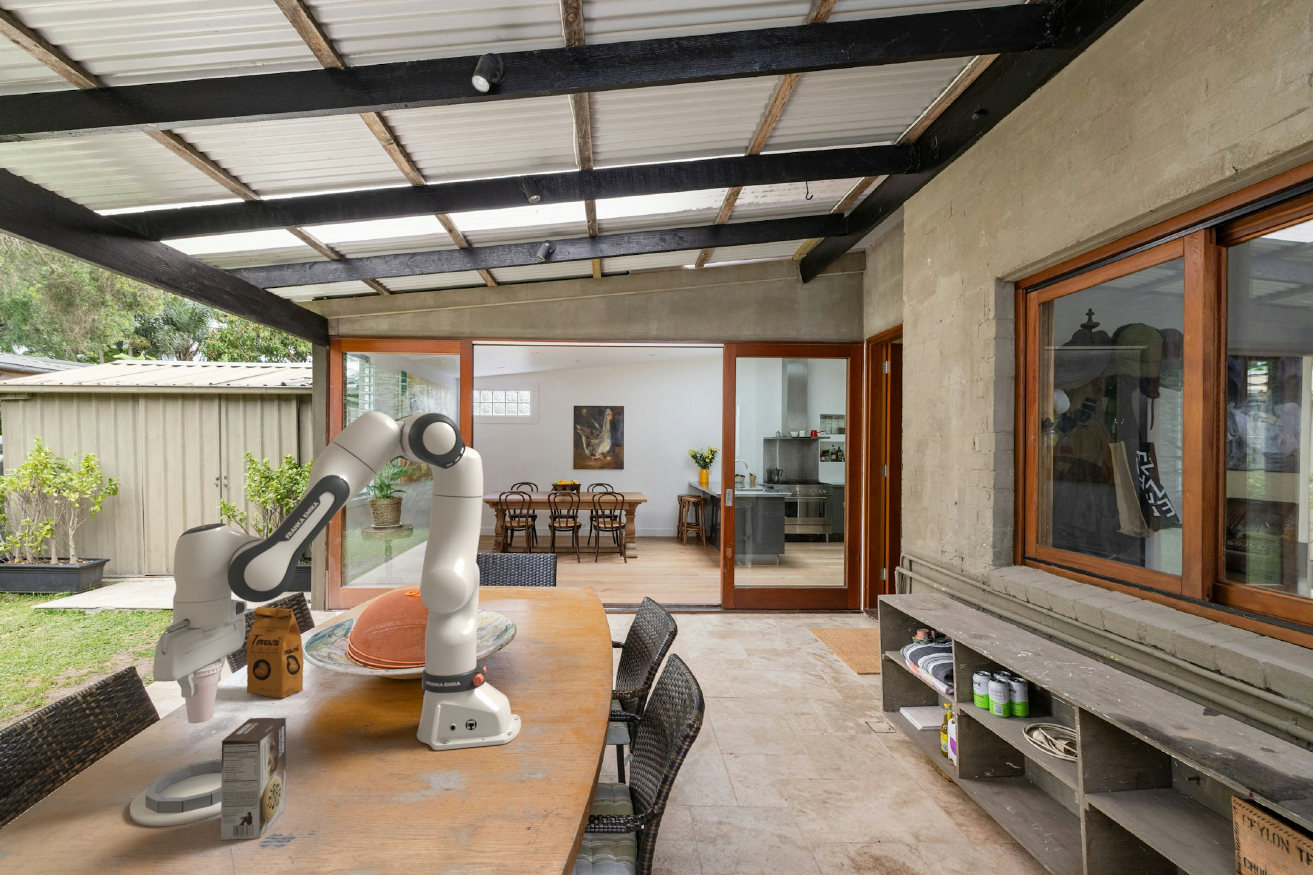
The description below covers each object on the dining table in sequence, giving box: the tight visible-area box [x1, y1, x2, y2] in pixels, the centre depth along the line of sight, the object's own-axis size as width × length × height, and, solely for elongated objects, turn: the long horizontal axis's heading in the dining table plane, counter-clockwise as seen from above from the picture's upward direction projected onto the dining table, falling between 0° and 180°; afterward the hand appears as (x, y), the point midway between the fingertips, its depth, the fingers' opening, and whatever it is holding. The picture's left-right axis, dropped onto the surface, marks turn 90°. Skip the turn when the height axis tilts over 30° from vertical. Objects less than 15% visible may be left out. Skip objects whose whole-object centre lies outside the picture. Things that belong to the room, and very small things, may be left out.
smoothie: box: [185, 661, 223, 724], centre depth 120 cm, size 6×6×14 cm
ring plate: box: [129, 758, 222, 828], centre depth 120 cm, size 20×20×3 cm
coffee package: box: [246, 606, 305, 699], centre depth 171 cm, size 10×12×22 cm
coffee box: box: [220, 717, 287, 841], centre depth 111 cm, size 9×6×16 cm
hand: (201, 689), depth 120 cm, fingers closed on smoothie, 5 cm apart
